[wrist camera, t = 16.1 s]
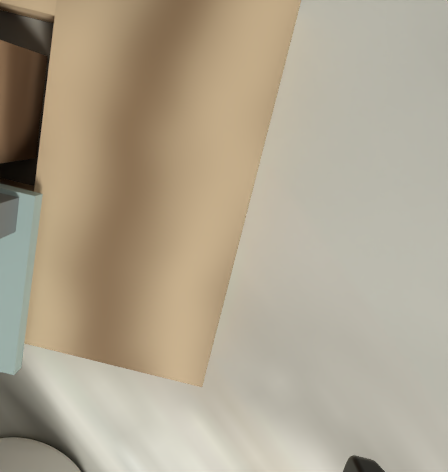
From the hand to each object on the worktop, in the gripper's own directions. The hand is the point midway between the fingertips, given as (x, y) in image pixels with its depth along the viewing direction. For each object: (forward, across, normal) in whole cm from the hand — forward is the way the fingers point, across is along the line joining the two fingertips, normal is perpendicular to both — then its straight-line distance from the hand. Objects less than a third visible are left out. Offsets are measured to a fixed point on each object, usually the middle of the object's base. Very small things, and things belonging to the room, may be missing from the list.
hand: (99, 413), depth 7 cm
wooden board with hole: (+12, +8, -2) cm, 15 cm away
